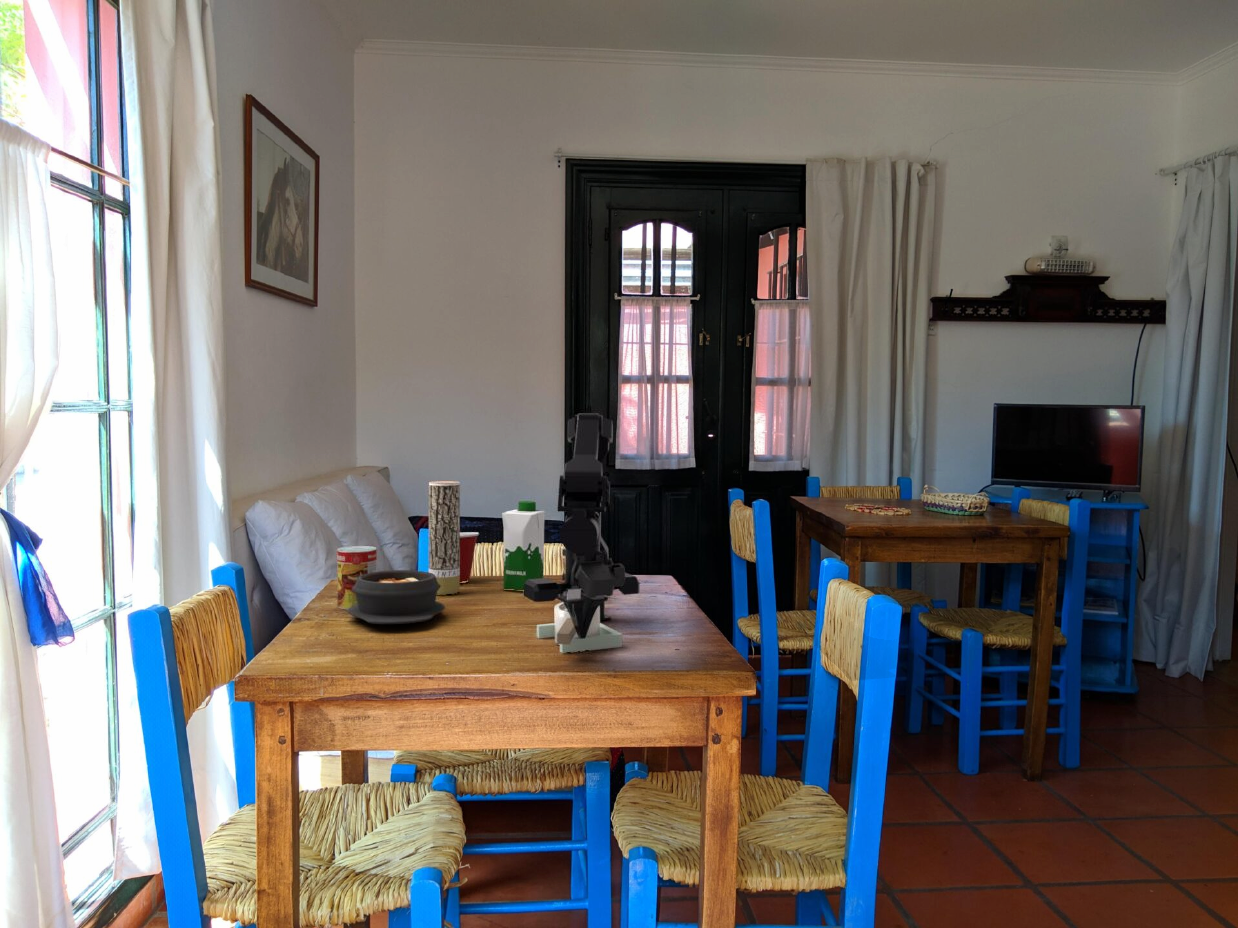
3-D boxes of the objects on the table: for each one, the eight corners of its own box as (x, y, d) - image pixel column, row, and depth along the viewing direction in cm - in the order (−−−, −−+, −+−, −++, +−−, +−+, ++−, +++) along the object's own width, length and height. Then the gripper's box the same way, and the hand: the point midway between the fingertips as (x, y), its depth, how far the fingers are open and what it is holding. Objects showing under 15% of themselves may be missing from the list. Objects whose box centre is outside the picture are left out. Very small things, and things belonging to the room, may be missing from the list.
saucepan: (559, 633, 162) (559, 599, 161) (603, 635, 161) (603, 600, 160) (539, 664, 146) (539, 627, 145) (587, 667, 145) (587, 629, 144)
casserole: (451, 630, 166) (451, 585, 166) (347, 636, 161) (346, 590, 160) (438, 603, 190) (438, 564, 190) (347, 607, 185) (347, 567, 184)
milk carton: (547, 586, 210) (548, 501, 209) (533, 593, 201) (533, 505, 200) (513, 584, 212) (513, 500, 211) (497, 591, 203) (497, 503, 202)
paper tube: (422, 592, 201) (422, 482, 199) (448, 589, 205) (448, 480, 204) (439, 597, 196) (439, 483, 194) (465, 593, 200) (465, 482, 199)
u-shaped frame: (536, 636, 161) (536, 624, 161) (593, 630, 166) (593, 619, 166) (562, 653, 150) (562, 640, 150) (622, 646, 155) (622, 634, 155)
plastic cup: (458, 576, 222) (458, 528, 221) (488, 582, 215) (488, 532, 214) (423, 582, 213) (423, 532, 213) (453, 588, 206) (453, 536, 206)
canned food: (342, 601, 190) (341, 546, 189) (379, 601, 191) (379, 545, 190) (333, 609, 182) (333, 551, 182) (373, 609, 183) (372, 551, 182)
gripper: (547, 554, 136) (546, 655, 136) (655, 548, 144) (654, 643, 145) (522, 545, 146) (522, 639, 146) (625, 539, 154) (624, 629, 155)
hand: (581, 638), depth 148 cm, fingers closed
